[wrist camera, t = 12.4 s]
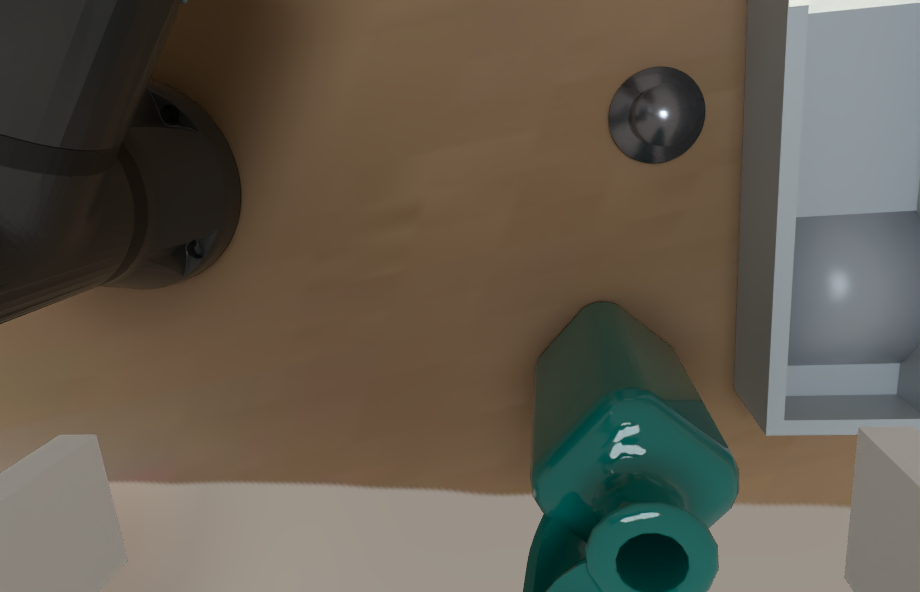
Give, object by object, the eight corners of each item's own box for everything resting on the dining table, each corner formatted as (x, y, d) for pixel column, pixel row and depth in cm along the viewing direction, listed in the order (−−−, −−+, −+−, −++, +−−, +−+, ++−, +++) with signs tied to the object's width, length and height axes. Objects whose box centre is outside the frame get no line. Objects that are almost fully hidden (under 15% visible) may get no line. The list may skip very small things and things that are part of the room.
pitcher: (598, 288, 45) (644, 435, 24) (689, 360, 45) (813, 566, 24) (512, 385, 48) (486, 593, 27) (599, 451, 48) (640, 707, 27)
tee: (609, 165, 42) (615, 170, 39) (607, 72, 41) (614, 66, 37) (702, 159, 42) (718, 162, 38) (703, 63, 40) (720, 56, 36)
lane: (712, 359, 51) (771, 443, 38) (728, -263, 40) (819, -455, 27) (845, 355, 50) (955, 442, 36) (899, -292, 39) (1085, -509, 25)
